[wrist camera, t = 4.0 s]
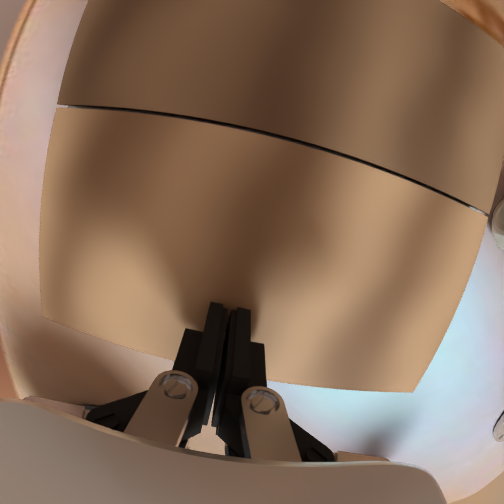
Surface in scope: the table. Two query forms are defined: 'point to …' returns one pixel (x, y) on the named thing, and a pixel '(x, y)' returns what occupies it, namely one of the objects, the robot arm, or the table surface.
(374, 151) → the floor board
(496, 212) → the pipe fitting
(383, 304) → the plank
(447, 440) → the table surface
